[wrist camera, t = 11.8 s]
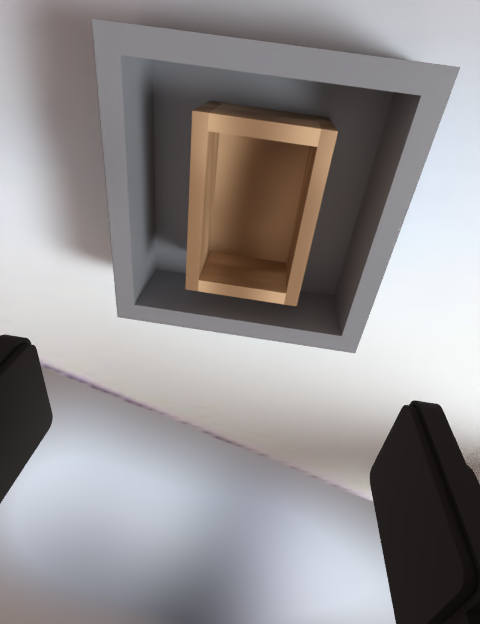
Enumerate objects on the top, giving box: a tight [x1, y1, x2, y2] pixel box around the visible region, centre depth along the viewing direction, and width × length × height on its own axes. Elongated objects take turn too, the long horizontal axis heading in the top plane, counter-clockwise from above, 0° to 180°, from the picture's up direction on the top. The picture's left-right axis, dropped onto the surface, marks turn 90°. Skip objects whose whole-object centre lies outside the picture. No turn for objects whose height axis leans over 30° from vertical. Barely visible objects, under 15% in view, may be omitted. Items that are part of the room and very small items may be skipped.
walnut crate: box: [185, 101, 338, 306], centre depth 23 cm, size 7×10×5 cm
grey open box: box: [92, 19, 460, 353], centre depth 23 cm, size 16×16×6 cm
